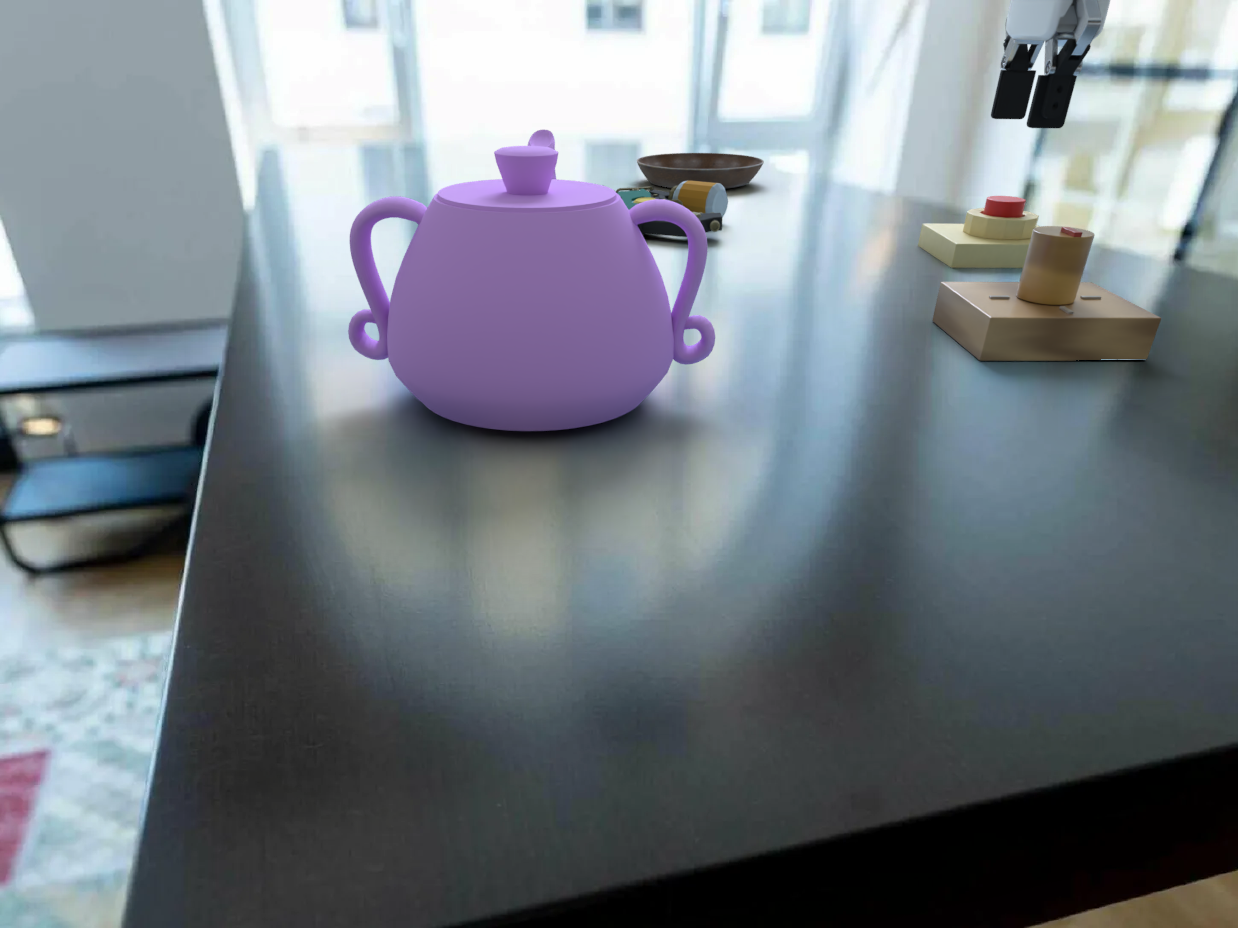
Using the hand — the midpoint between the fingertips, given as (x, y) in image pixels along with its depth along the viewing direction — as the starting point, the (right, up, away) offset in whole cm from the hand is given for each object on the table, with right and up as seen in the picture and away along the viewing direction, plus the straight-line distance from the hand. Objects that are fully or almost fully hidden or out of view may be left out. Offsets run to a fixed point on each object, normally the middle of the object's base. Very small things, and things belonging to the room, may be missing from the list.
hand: (1025, 121), depth 84 cm
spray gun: (-33, -2, +17) cm, 37 cm away
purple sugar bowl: (-44, -32, -26) cm, 60 cm away
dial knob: (-7, -23, -18) cm, 30 cm away
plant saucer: (-26, +16, +44) cm, 53 cm away
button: (0, -7, +5) cm, 8 cm away
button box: (0, -10, +7) cm, 12 cm away
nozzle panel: (-7, -26, -16) cm, 31 cm away
